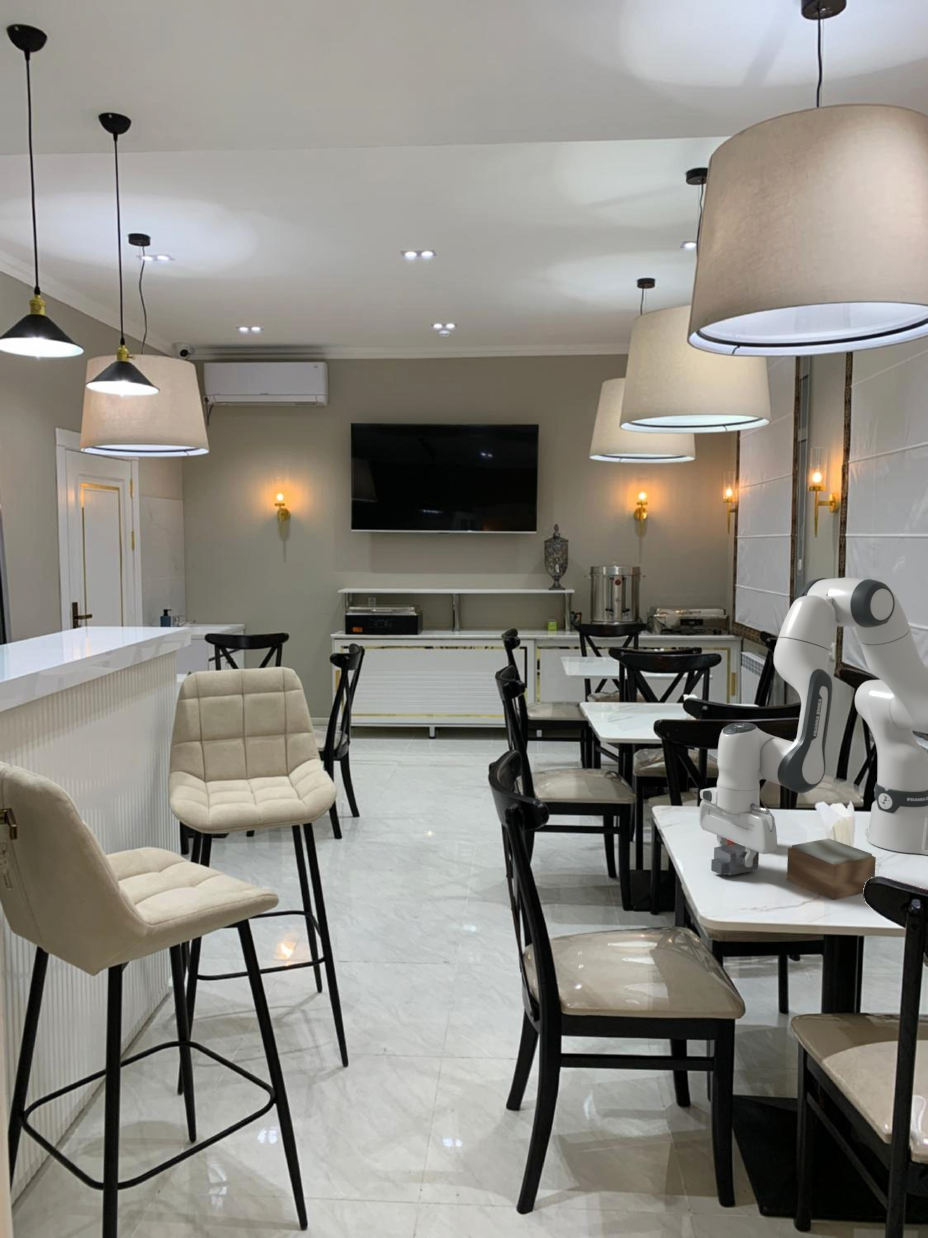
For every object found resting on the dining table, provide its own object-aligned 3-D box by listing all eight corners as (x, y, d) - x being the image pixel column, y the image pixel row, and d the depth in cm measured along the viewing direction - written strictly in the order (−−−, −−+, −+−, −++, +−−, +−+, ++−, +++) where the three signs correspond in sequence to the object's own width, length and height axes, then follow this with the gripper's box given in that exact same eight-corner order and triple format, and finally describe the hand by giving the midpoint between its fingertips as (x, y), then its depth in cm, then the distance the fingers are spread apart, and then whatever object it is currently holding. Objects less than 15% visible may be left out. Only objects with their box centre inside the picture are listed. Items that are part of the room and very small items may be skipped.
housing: (741, 862, 196) (742, 842, 196) (758, 869, 192) (758, 849, 191) (708, 869, 192) (708, 848, 192) (724, 876, 188) (724, 855, 187)
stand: (827, 871, 193) (828, 837, 193) (874, 890, 183) (875, 854, 182) (786, 880, 188) (788, 845, 188) (832, 900, 177) (834, 862, 177)
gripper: (785, 809, 183) (783, 874, 184) (716, 786, 201) (715, 845, 202) (762, 813, 180) (760, 879, 181) (694, 789, 199) (693, 849, 200)
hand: (736, 861), depth 192 cm, fingers closed on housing, 5 cm apart
